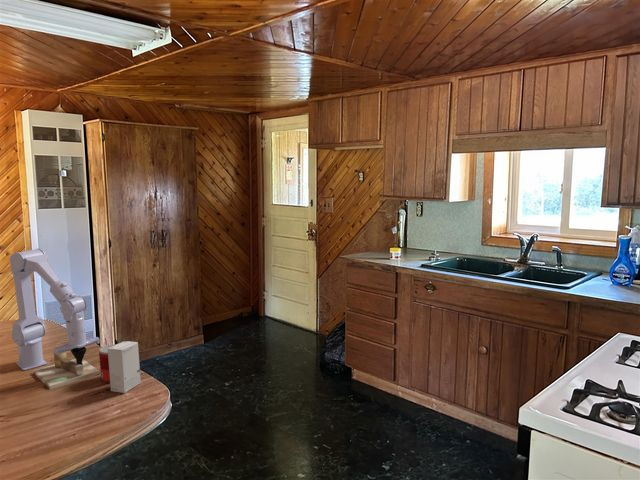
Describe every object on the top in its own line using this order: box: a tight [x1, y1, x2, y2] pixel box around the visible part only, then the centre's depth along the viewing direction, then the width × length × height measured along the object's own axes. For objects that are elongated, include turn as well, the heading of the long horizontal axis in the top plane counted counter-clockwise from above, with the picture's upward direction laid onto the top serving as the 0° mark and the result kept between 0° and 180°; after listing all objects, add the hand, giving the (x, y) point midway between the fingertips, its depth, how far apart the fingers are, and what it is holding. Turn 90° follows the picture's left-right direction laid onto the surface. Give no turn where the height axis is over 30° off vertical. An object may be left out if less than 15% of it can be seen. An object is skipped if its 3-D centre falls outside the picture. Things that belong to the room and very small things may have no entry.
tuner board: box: [33, 358, 101, 390], centre depth 167 cm, size 18×16×1 cm
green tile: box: [50, 376, 67, 382], centre depth 160 cm, size 5×3×1 cm, turn 114°
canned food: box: [98, 343, 117, 384], centre depth 162 cm, size 8×8×11 cm
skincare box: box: [108, 340, 142, 394], centre depth 155 cm, size 8×6×15 cm
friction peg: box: [53, 351, 84, 375], centre depth 167 cm, size 15×4×5 cm, turn 56°
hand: (79, 367), depth 166 cm, fingers closed, pressing on friction peg
